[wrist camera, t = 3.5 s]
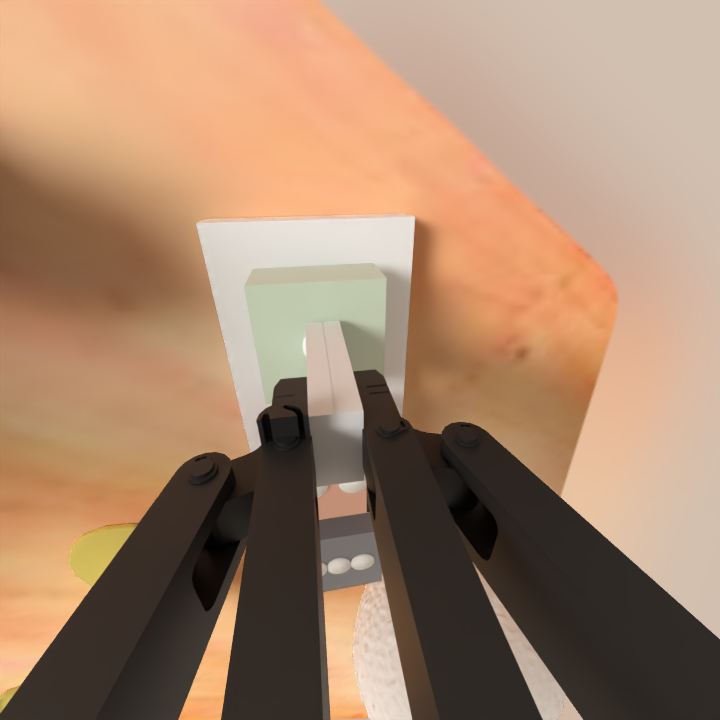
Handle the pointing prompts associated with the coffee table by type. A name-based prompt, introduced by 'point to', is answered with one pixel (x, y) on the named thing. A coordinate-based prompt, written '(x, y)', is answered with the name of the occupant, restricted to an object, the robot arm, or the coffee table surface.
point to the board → (304, 248)
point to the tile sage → (315, 315)
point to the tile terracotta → (342, 499)
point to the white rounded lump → (384, 671)
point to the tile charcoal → (348, 552)
